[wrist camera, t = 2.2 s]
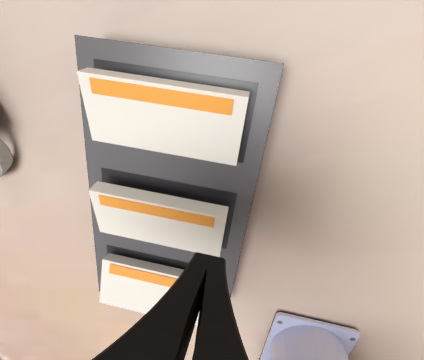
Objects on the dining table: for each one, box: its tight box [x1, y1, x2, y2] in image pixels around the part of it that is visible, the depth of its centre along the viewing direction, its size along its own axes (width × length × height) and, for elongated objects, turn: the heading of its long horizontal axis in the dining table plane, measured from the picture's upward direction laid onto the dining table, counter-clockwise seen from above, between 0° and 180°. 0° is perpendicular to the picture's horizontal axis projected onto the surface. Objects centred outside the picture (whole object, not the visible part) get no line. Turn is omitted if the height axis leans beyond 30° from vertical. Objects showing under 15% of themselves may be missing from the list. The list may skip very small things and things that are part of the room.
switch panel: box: [75, 35, 284, 297], centre depth 19 cm, size 21×12×3 cm, turn 172°
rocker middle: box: [88, 181, 229, 257], centre depth 17 cm, size 4×9×1 cm, turn 82°
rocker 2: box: [100, 253, 199, 326], centre depth 20 cm, size 4×9×1 cm, turn 83°
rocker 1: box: [77, 67, 250, 166], centre depth 14 cm, size 4×9×1 cm, turn 82°
